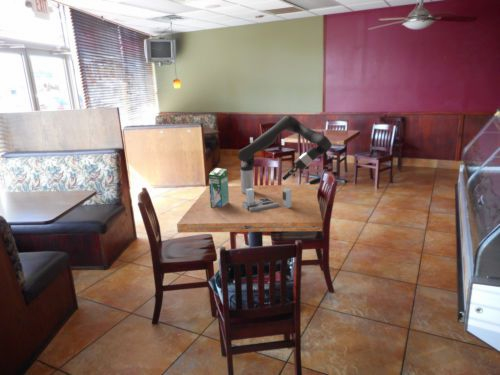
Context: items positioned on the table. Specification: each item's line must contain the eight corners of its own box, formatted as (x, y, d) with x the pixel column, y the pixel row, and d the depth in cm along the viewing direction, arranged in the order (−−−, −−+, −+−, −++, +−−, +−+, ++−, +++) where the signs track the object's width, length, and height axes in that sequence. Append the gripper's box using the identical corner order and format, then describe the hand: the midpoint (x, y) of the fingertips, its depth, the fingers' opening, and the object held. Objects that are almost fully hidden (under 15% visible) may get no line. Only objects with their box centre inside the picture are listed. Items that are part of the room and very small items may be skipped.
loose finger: (282, 206, 236) (282, 189, 232) (288, 205, 238) (288, 188, 234) (285, 208, 232) (285, 190, 229) (291, 207, 234) (291, 189, 231)
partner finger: (246, 206, 233) (245, 189, 230) (252, 205, 235) (252, 187, 232) (248, 208, 230) (248, 190, 226) (255, 207, 231) (254, 189, 228)
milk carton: (210, 207, 238) (208, 170, 231) (217, 203, 246) (215, 167, 239) (222, 209, 234) (220, 171, 227) (229, 204, 242) (227, 168, 235)
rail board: (240, 207, 236) (240, 201, 235) (270, 202, 245) (270, 195, 244) (251, 215, 222) (251, 208, 221) (282, 209, 231) (282, 202, 230)
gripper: (299, 156, 228) (280, 173, 231) (299, 157, 214) (278, 174, 217) (307, 165, 227) (288, 182, 230) (307, 166, 213) (287, 184, 216)
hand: (283, 178), depth 224 cm, fingers open, 8 cm apart
